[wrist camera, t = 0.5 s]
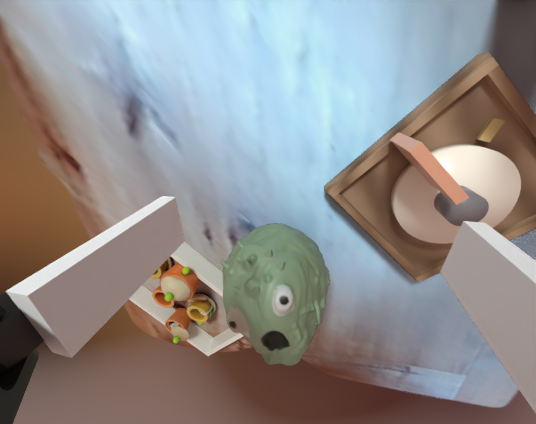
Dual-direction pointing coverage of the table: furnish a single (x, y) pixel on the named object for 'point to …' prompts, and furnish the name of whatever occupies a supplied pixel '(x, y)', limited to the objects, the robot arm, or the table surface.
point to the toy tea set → (181, 298)
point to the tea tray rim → (148, 304)
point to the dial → (451, 188)
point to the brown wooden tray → (435, 136)
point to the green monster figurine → (275, 291)
